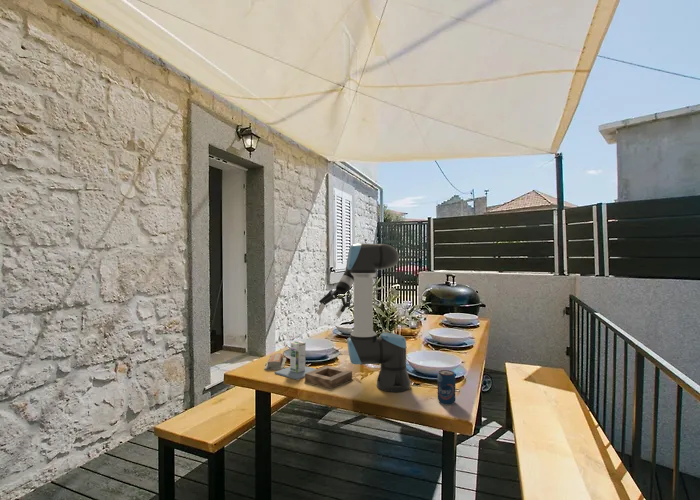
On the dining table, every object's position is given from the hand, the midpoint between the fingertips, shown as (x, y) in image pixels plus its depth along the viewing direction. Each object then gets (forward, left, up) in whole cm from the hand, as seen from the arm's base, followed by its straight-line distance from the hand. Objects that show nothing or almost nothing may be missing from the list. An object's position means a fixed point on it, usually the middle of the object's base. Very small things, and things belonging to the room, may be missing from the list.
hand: (327, 315), depth 187 cm
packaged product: (+26, +13, -28) cm, 41 cm away
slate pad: (+7, +16, -28) cm, 33 cm away
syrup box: (+7, +15, -27) cm, 32 cm away
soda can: (-68, +7, -28) cm, 74 cm away
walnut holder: (-13, +15, -28) cm, 34 cm away
